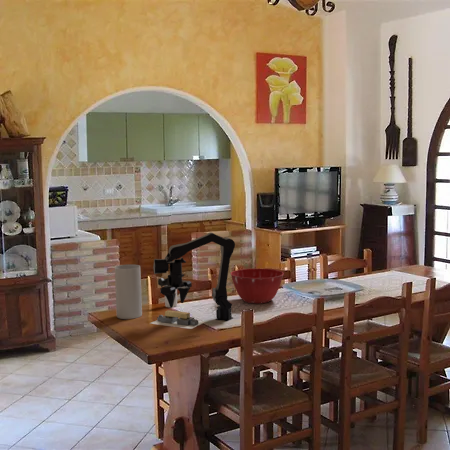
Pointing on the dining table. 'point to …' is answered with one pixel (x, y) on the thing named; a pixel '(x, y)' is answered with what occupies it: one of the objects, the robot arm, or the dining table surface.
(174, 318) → the chain ends
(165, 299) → the mug
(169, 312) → the master link
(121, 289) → the cylinder vase
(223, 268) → the robot arm
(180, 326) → the mat
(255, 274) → the mixing bowl
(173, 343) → the dining table surface
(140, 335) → the dining table surface
